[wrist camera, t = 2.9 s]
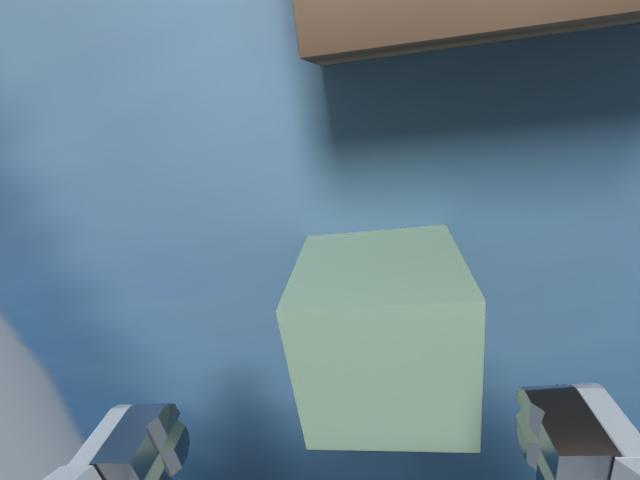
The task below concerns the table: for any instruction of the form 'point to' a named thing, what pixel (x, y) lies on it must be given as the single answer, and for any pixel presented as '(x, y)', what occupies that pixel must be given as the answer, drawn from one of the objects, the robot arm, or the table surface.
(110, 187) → the table surface
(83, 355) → the table surface
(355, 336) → the sage green block
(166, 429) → the robot arm
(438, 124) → the table surface
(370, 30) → the walnut block
